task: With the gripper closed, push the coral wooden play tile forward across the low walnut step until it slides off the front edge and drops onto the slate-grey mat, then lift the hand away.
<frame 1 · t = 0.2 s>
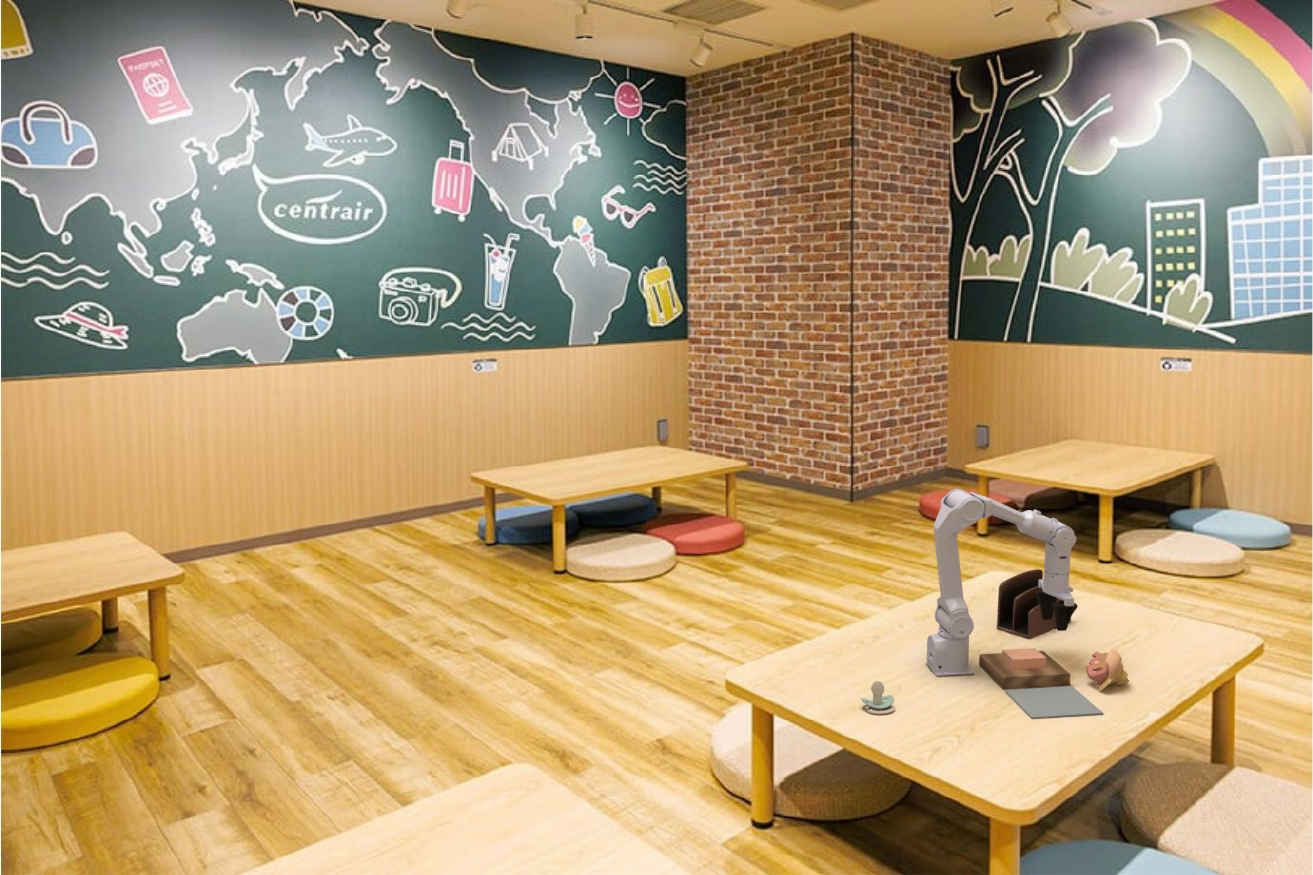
hand: (1054, 624, 239), 10 cm above the table, tool pointing down, fingers open, 7 cm apart
letter holder: (1034, 627, 265), on the table
tile: (1023, 663, 233), point 3 cm above the table, touching step
step: (1023, 675, 233), on the table
pacifier: (879, 710, 218), on the table
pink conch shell: (1105, 686, 226), on the table
mat: (1052, 702, 218), on the table
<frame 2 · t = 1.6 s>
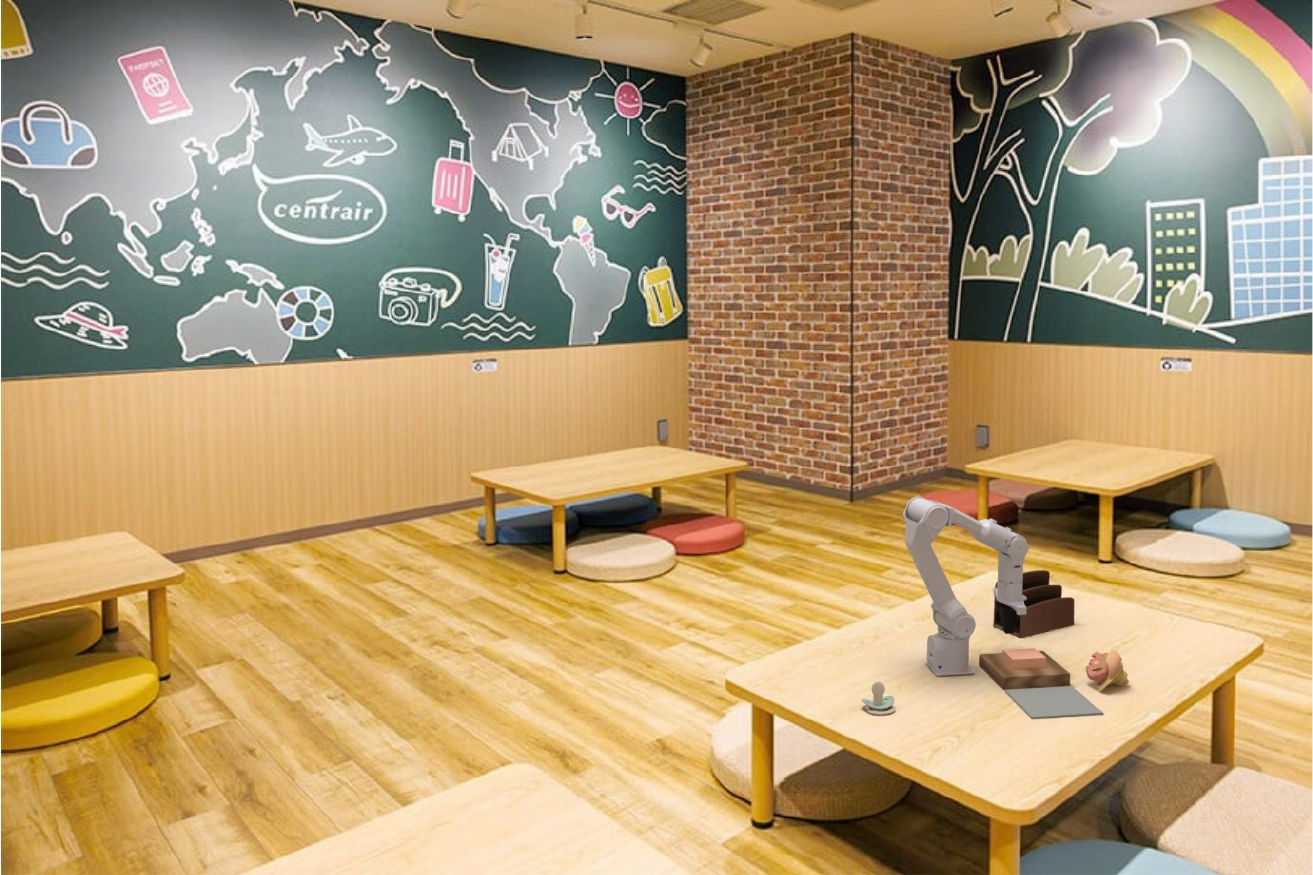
hand: (1008, 632, 241), 7 cm above the table, tool pointing down, fingers closed
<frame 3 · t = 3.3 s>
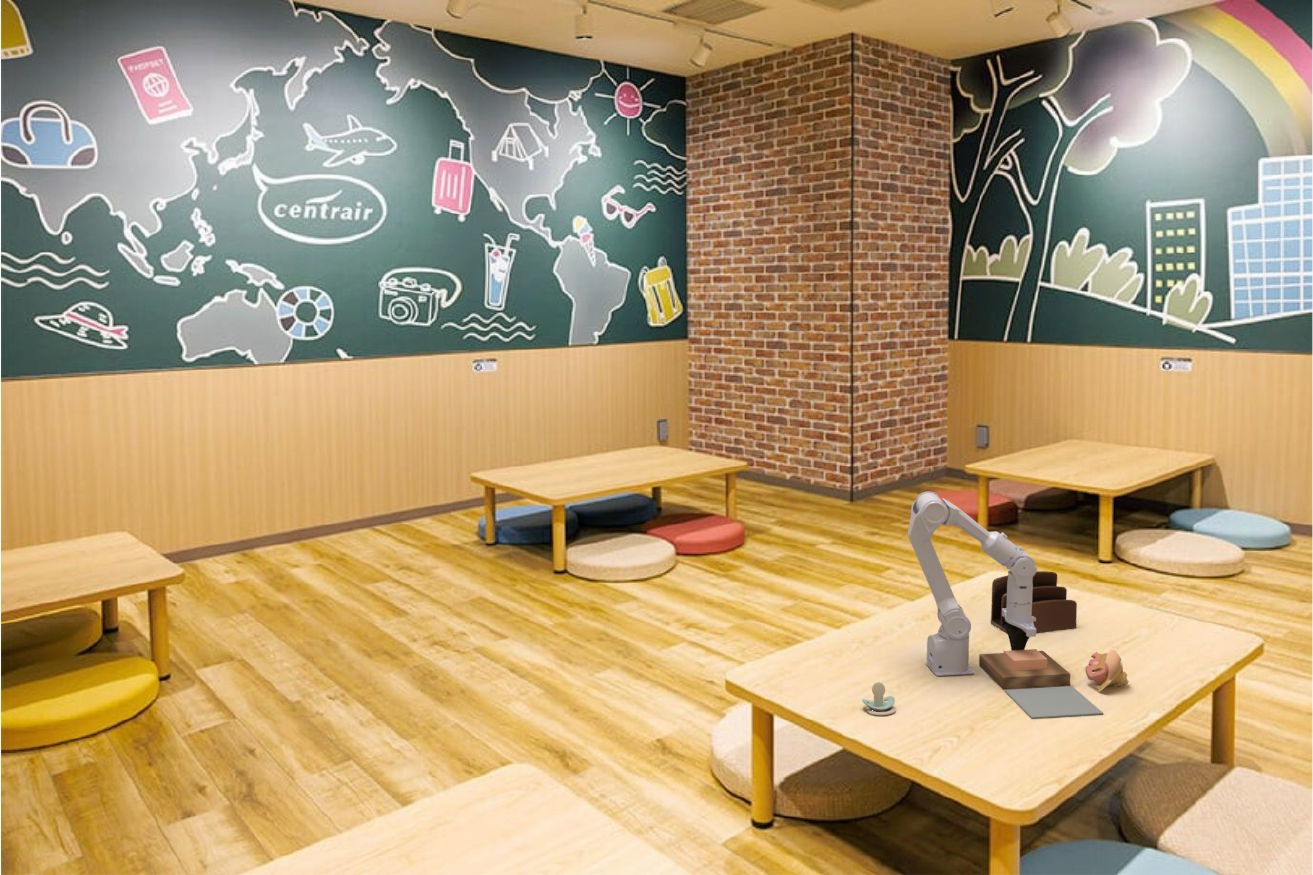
hand: (1017, 654, 236), 4 cm above the table, tool pointing down, fingers closed
tile: (1024, 664, 232), point 3 cm above the table, touching gripper, step
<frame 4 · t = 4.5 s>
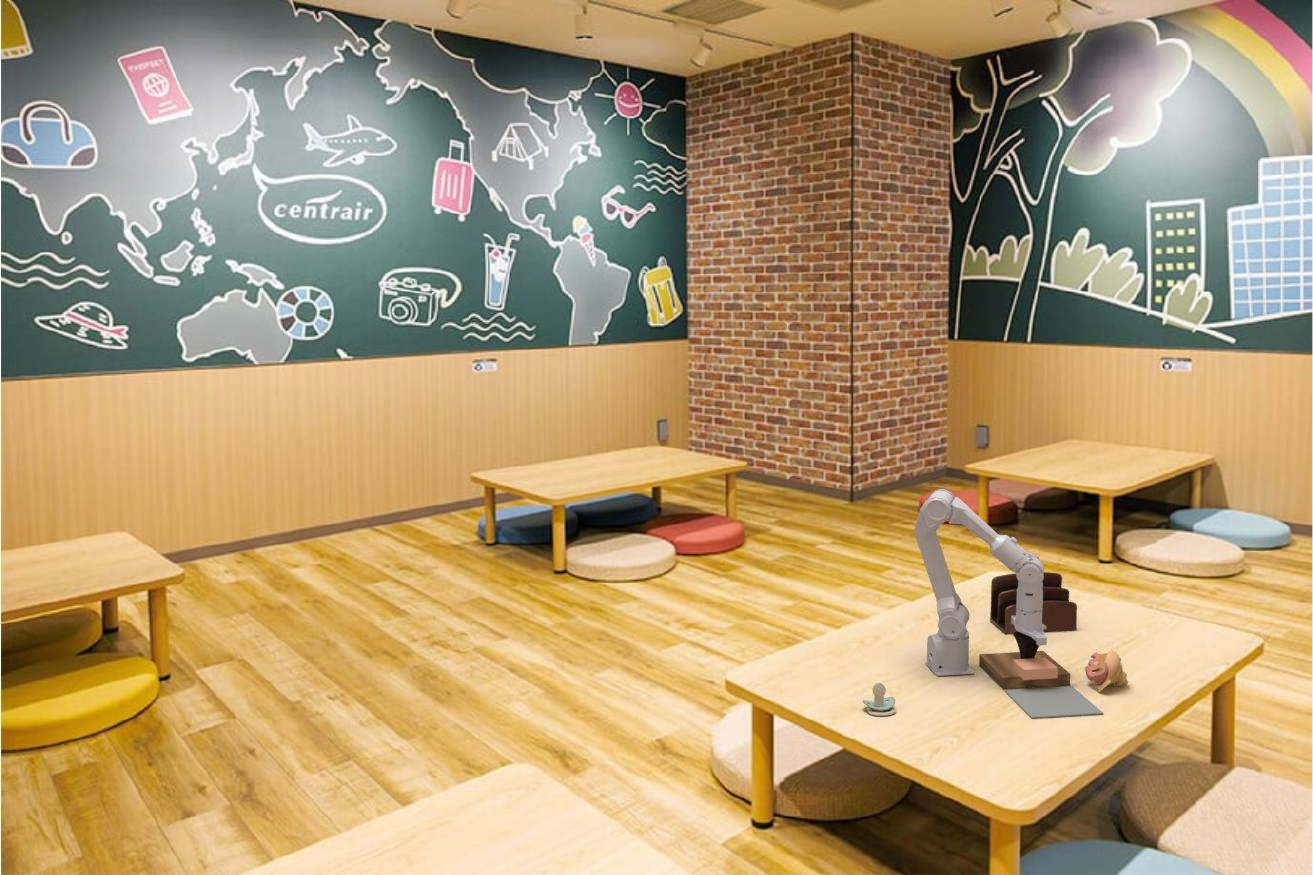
hand: (1027, 663, 231), 4 cm above the table, tool pointing down, fingers closed
tile: (1034, 673, 227), point 3 cm above the table, touching gripper, step
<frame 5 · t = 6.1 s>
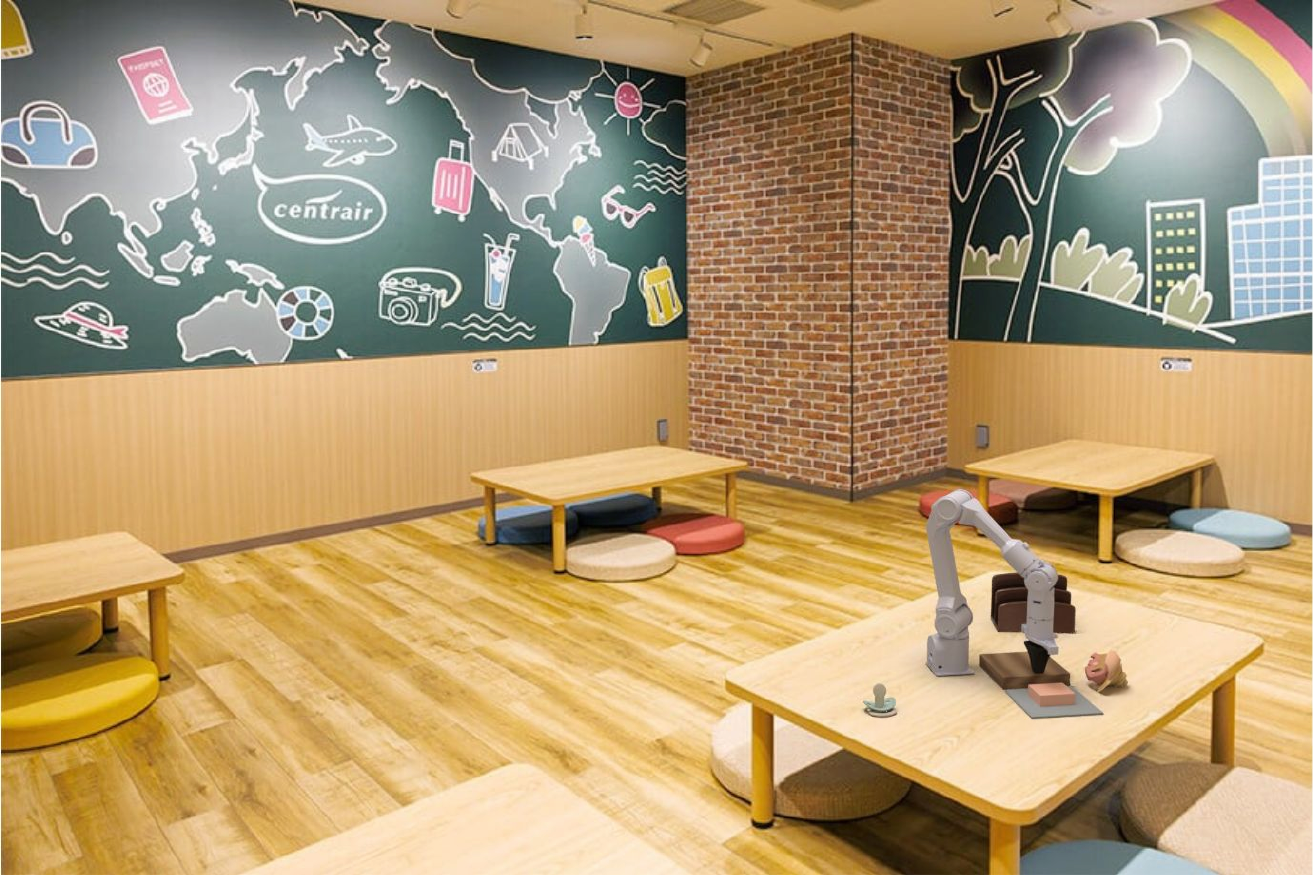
hand: (1038, 672, 225), 4 cm above the table, tool pointing down, fingers closed
tile: (1051, 688, 219), point 3 cm above the table, tilted 180°, touching mat
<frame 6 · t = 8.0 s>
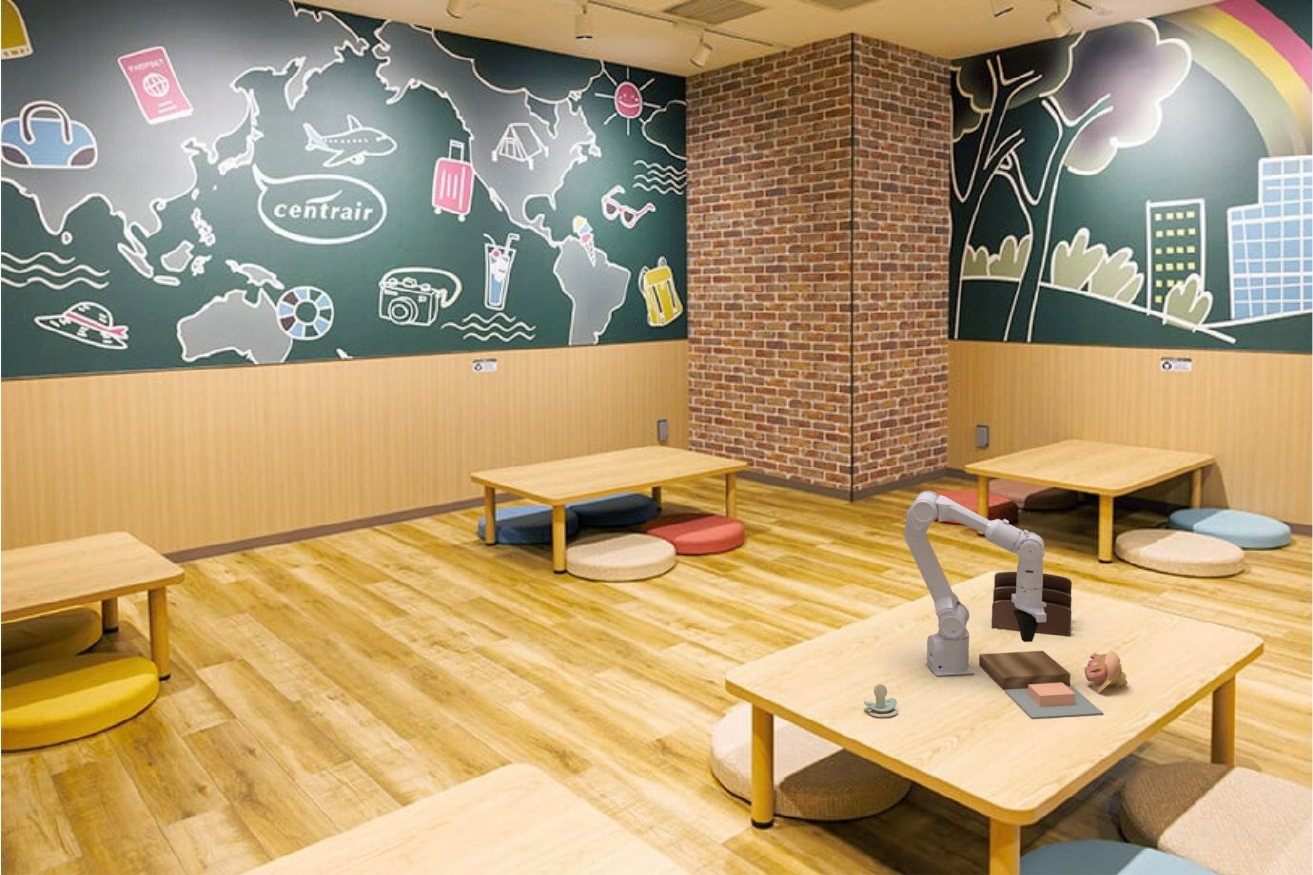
hand: (1027, 640, 230), 9 cm above the table, tool pointing down, fingers closed
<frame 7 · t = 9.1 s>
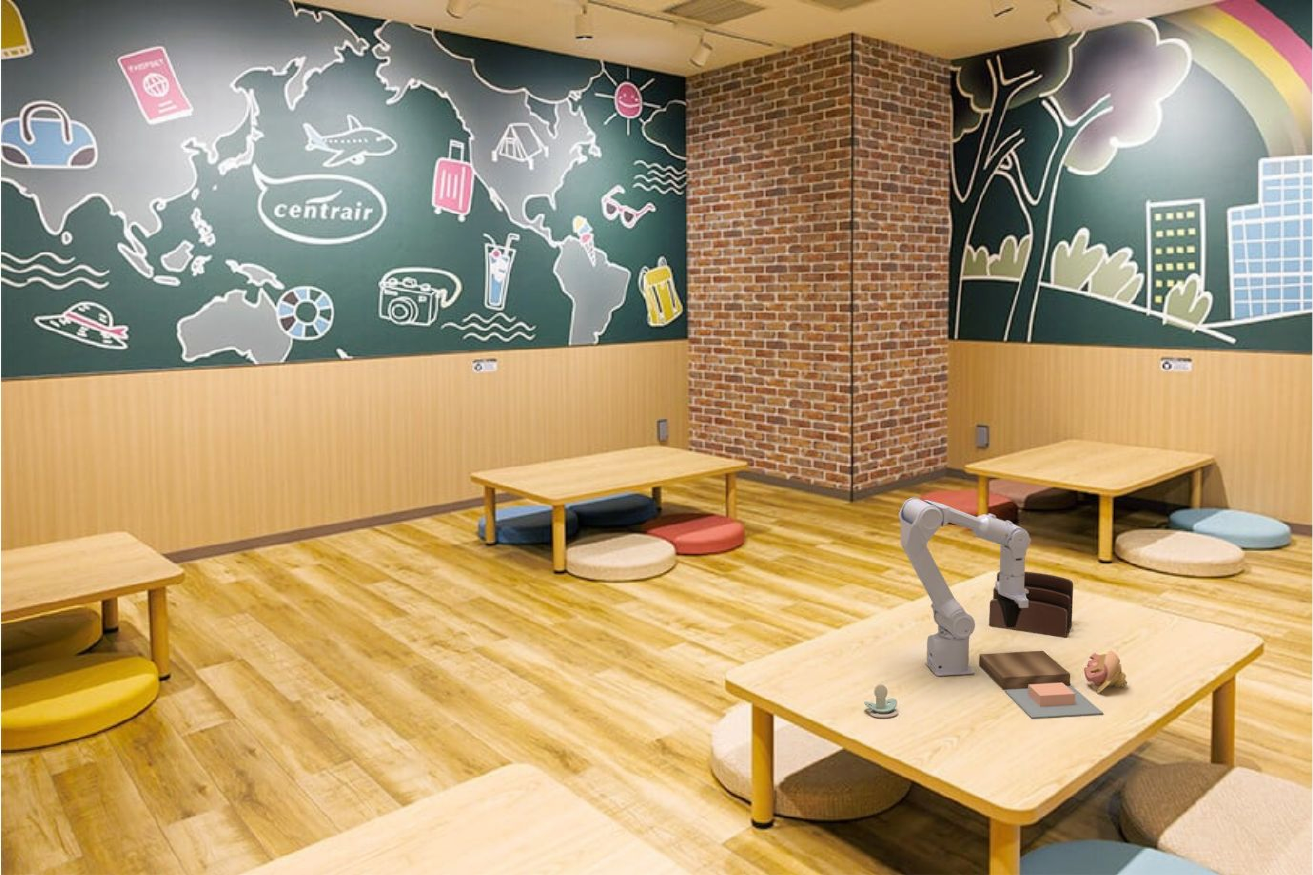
hand: (1010, 626, 239), 9 cm above the table, tool pointing down, fingers closed
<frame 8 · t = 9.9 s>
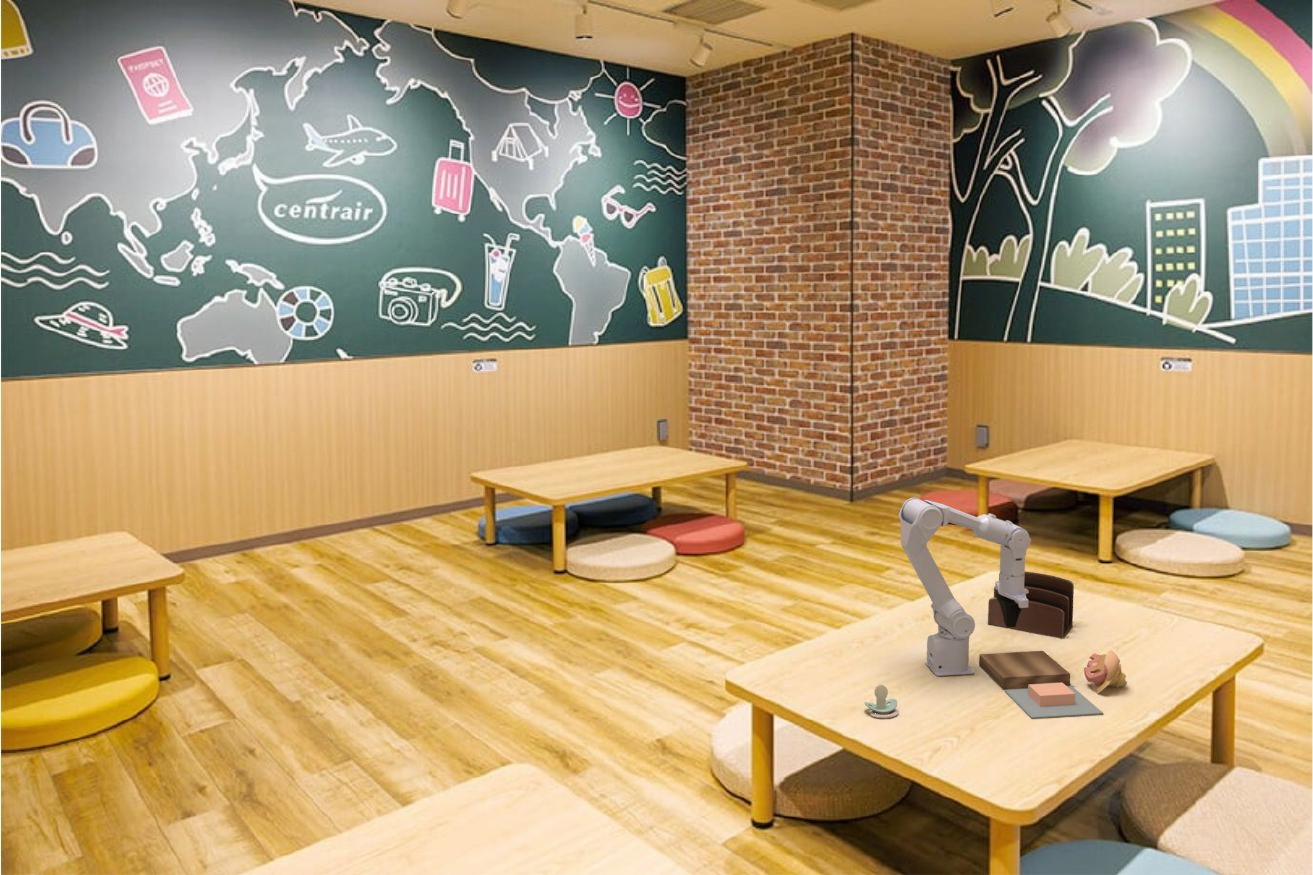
hand: (1010, 626, 239), 9 cm above the table, tool pointing down, fingers closed
at the end: tile inside the target area (0.8 cm from its centre), point 2.9 cm above the table; tile touching mat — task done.
